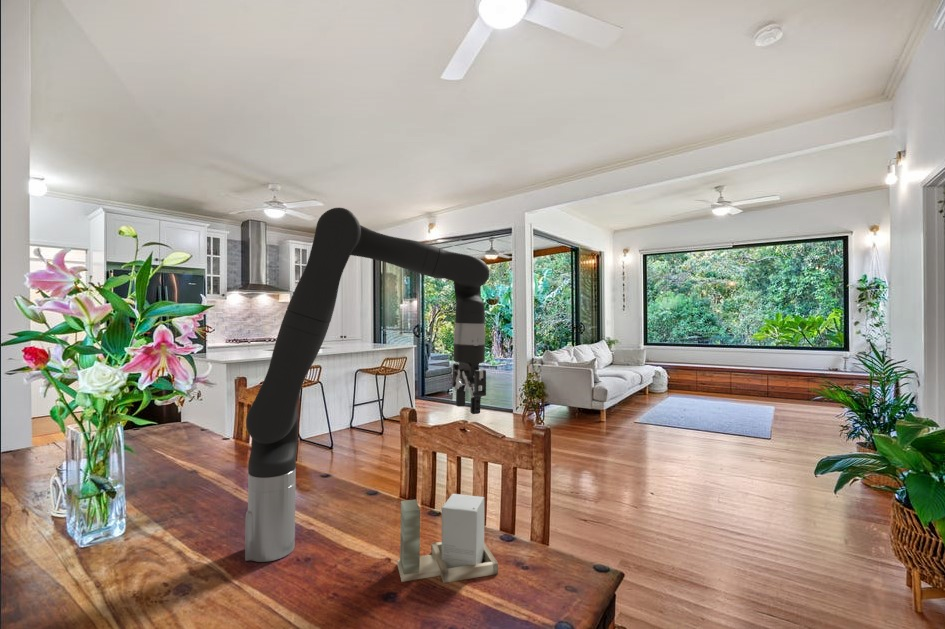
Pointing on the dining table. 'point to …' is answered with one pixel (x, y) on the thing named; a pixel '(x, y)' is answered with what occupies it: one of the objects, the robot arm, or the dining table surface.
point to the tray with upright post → (432, 565)
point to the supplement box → (463, 530)
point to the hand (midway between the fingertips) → (467, 409)
